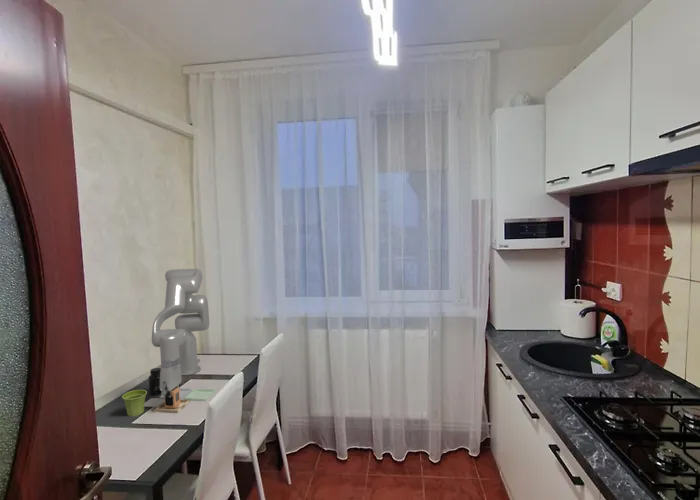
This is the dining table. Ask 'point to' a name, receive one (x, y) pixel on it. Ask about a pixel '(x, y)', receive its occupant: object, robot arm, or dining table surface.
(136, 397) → the plant pot
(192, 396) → the tray green
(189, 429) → the dining table surface
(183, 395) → the tray grey
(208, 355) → the dining table surface
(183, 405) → the tray birch
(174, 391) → the letter block
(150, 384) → the supplement bottle
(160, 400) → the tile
